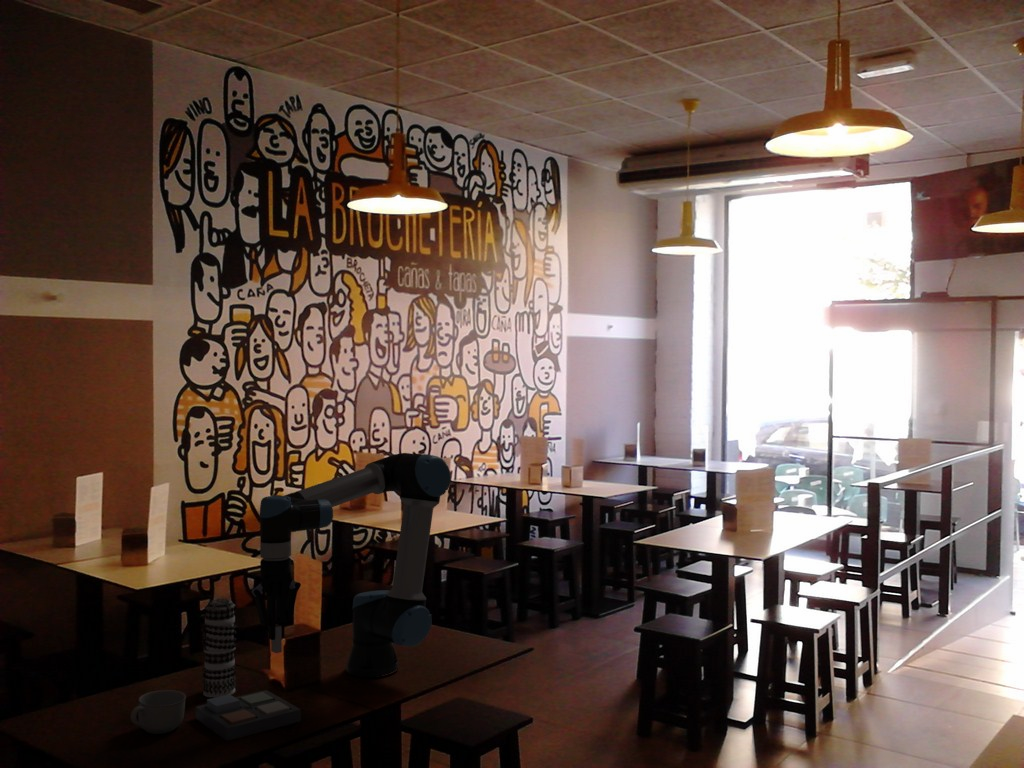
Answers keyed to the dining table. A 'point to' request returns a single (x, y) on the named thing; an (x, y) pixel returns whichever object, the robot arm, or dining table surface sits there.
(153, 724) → the teacup
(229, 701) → the blue key
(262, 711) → the cream key
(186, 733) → the dining table surface
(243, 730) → the keypad frame
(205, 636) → the decorative candle
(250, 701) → the sage key
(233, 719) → the terracotta key
